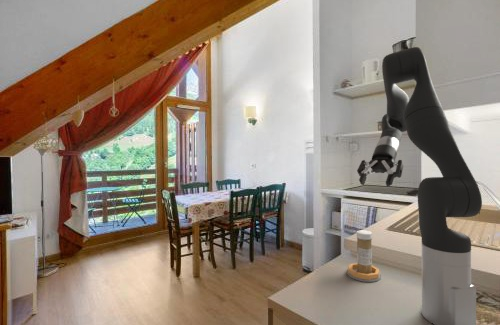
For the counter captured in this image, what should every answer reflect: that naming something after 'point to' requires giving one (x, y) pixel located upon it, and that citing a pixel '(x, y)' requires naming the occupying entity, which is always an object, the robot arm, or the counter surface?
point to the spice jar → (364, 252)
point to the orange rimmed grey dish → (363, 277)
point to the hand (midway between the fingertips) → (374, 184)
